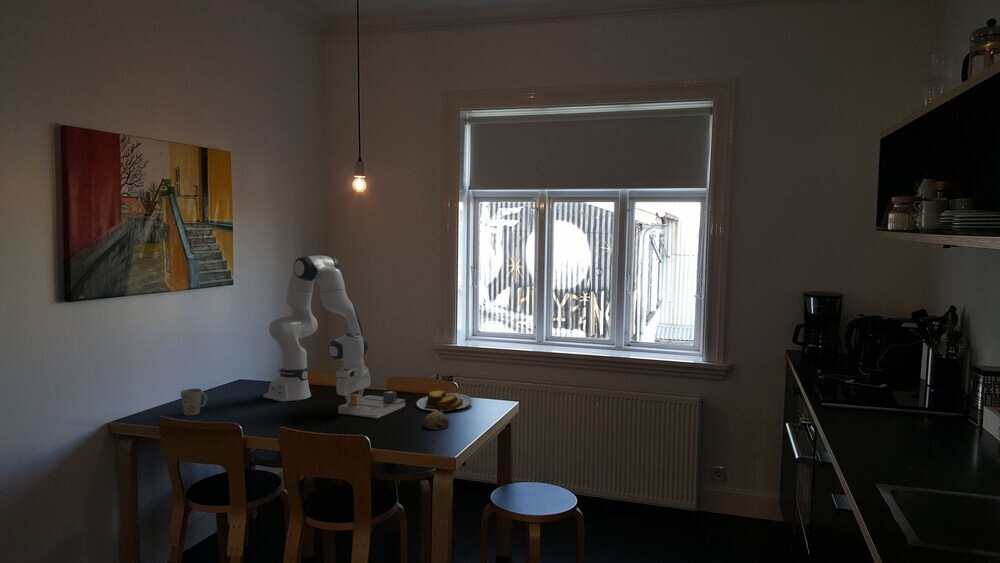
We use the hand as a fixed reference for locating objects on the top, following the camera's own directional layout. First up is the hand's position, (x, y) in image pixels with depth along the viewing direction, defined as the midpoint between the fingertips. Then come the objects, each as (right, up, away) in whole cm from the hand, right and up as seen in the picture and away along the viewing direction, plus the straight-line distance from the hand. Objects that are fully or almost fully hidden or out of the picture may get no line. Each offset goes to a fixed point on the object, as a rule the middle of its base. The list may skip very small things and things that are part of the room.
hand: (354, 400), depth 291 cm
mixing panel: (+8, -4, +2) cm, 9 cm away
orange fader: (0, -1, 0) cm, 1 cm away
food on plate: (+39, -4, +9) cm, 40 cm away
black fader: (+15, -1, +4) cm, 16 cm away
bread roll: (+38, -7, -22) cm, 44 cm away
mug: (-68, -5, -3) cm, 69 cm away
